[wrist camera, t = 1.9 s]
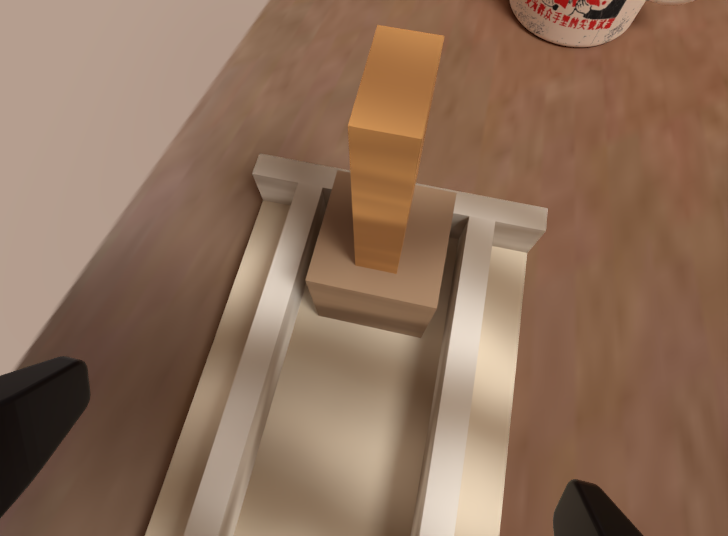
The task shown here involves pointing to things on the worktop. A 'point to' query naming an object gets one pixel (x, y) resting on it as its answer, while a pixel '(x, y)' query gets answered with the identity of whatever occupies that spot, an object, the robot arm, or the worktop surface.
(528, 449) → the worktop surface
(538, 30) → the teacup with lid
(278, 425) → the lane tray
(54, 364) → the robot arm
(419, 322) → the tan wooden block
